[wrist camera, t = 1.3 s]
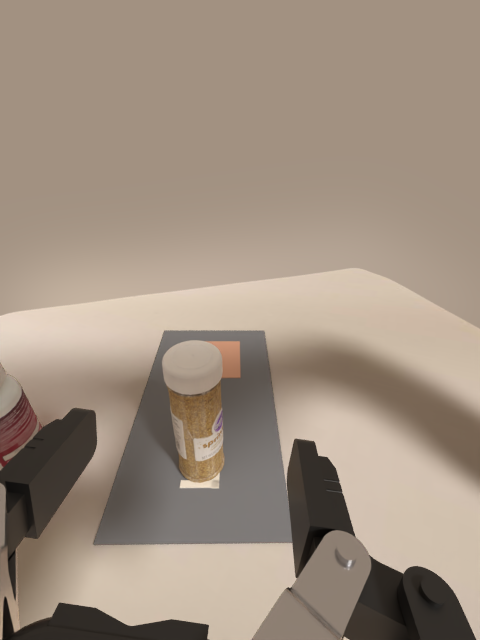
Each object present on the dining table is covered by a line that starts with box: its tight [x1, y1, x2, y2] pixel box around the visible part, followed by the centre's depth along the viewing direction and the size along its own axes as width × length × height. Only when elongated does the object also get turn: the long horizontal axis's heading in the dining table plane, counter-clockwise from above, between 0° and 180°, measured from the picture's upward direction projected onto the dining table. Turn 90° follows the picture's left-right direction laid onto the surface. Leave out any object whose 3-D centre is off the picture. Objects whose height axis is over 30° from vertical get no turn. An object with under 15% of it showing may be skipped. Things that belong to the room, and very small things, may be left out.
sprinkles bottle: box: [162, 340, 225, 483], centre depth 27 cm, size 5×5×13 cm
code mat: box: [93, 331, 292, 545], centre depth 38 cm, size 16×30×1 cm, turn 1°
